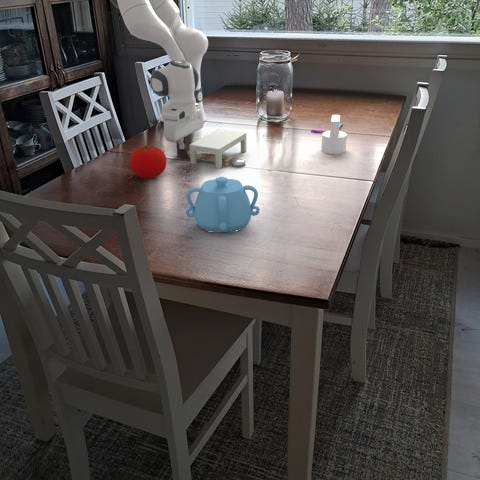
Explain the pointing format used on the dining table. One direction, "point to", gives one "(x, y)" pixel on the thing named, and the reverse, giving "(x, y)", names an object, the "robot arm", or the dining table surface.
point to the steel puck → (238, 162)
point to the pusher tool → (200, 153)
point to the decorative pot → (222, 205)
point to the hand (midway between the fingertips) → (186, 146)
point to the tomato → (148, 161)
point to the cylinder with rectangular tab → (334, 138)
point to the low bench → (217, 144)
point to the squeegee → (322, 131)
